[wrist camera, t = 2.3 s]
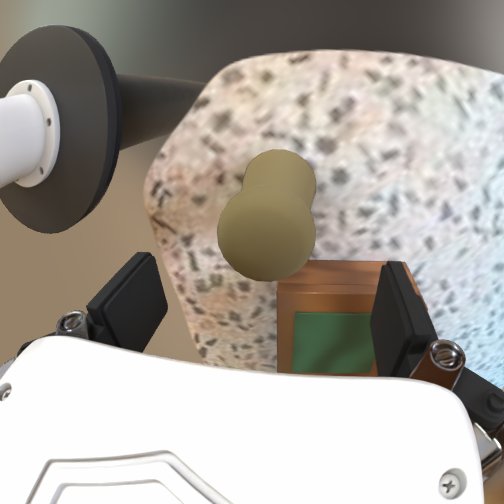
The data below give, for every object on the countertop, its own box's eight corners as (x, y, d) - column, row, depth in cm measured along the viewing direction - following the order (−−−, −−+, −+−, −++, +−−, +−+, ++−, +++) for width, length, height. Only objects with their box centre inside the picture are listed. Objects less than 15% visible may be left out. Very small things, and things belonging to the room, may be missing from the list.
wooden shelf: (280, 392, 37) (275, 434, 31) (281, 258, 27) (273, 308, 21) (363, 393, 35) (366, 434, 29) (405, 261, 25) (428, 309, 19)
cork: (230, 169, 23) (178, 222, 14) (295, 136, 21) (291, 165, 12) (264, 229, 25) (240, 312, 16) (328, 202, 23) (343, 277, 14)
